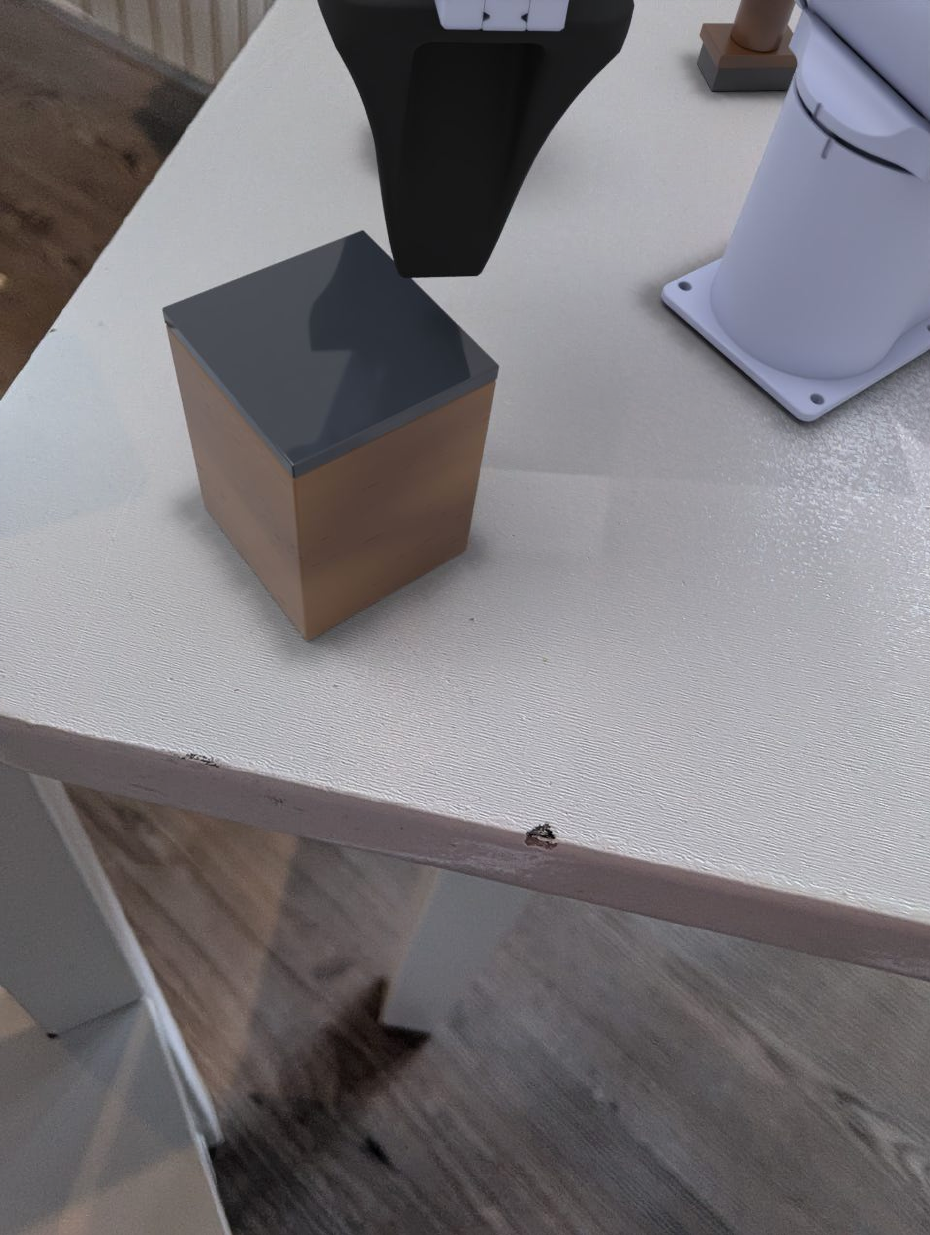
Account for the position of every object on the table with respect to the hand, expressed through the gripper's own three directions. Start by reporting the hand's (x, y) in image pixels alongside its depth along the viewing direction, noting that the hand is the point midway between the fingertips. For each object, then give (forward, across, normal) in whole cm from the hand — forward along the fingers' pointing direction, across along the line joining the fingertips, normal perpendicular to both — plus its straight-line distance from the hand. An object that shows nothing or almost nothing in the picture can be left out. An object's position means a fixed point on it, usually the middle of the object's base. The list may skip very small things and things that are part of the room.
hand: (417, 168), depth 25 cm
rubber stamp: (+10, -21, +19) cm, 30 cm away
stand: (+10, +4, -3) cm, 11 cm away
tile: (+2, +4, -3) cm, 6 cm away
